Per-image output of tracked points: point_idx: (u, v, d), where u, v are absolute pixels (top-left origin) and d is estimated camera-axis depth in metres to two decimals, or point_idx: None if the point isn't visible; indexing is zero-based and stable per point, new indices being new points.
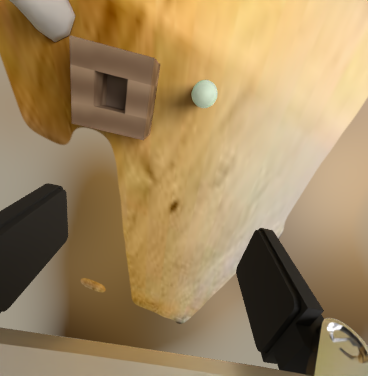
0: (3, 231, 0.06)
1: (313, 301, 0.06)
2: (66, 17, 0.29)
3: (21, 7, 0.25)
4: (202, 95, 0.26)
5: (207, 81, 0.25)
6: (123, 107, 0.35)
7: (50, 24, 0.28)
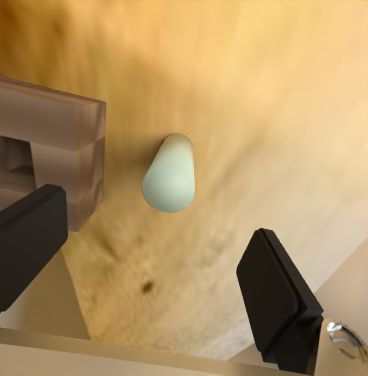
0: (3, 231, 0.06)
1: (313, 301, 0.06)
2: None
3: None
4: (164, 192, 0.12)
5: (172, 168, 0.11)
6: None
7: None
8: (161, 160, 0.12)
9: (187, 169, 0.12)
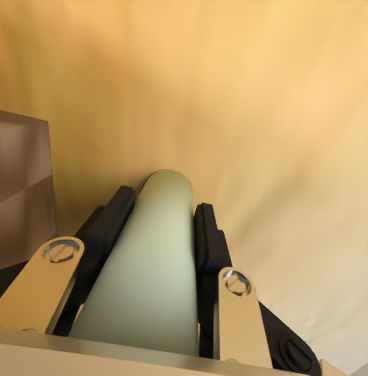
0: (114, 224, 0.07)
1: (218, 253, 0.07)
2: None
3: None
4: None
5: None
6: None
7: None
8: (110, 296, 0.05)
9: (179, 329, 0.04)
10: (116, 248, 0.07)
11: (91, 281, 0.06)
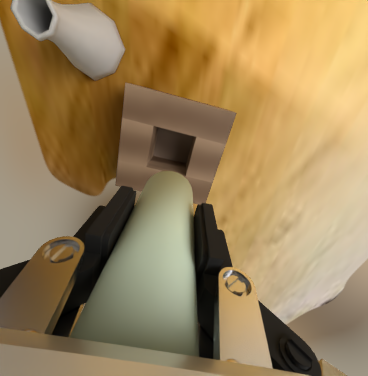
0: (114, 224, 0.07)
1: (218, 253, 0.07)
2: (115, 53, 0.22)
3: (63, 47, 0.18)
4: None
5: None
6: (174, 158, 0.28)
7: (95, 63, 0.21)
8: (110, 298, 0.05)
9: (180, 331, 0.04)
10: (116, 250, 0.07)
11: (91, 281, 0.06)
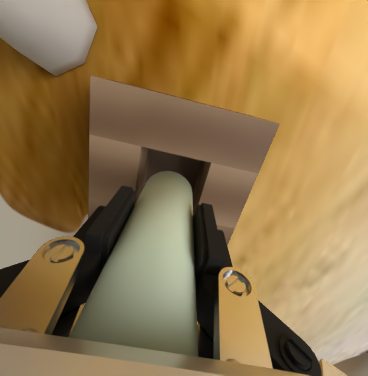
0: (114, 224, 0.07)
1: (218, 253, 0.07)
2: (79, 31, 0.14)
3: None
4: None
5: None
6: None
7: (47, 47, 0.13)
8: (110, 298, 0.05)
9: (179, 331, 0.04)
10: (116, 250, 0.07)
11: (91, 281, 0.06)
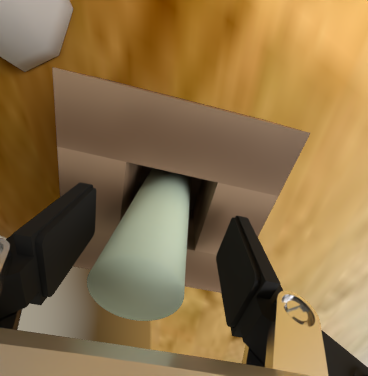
0: (54, 224, 0.06)
1: (272, 276, 0.06)
2: (48, 12, 0.11)
3: None
4: (130, 294, 0.07)
5: (139, 260, 0.06)
6: None
7: (3, 31, 0.10)
8: (126, 233, 0.07)
9: (171, 253, 0.07)
10: (128, 210, 0.09)
11: (21, 287, 0.06)
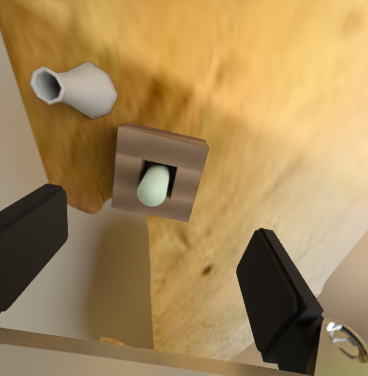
0: (3, 231, 0.06)
1: (313, 301, 0.06)
2: (109, 99, 0.27)
3: (68, 103, 0.22)
4: (149, 194, 0.22)
5: (153, 181, 0.22)
6: None
7: (93, 109, 0.26)
8: (147, 177, 0.23)
9: (162, 182, 0.22)
10: (146, 174, 0.25)
11: None
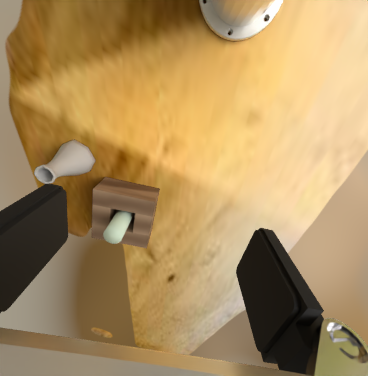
0: (3, 231, 0.06)
1: (313, 301, 0.06)
2: (89, 164, 0.39)
3: (59, 176, 0.34)
4: (111, 236, 0.34)
5: (113, 229, 0.33)
6: None
7: (77, 172, 0.38)
8: (111, 224, 0.34)
9: (120, 228, 0.34)
10: (112, 220, 0.36)
11: None
